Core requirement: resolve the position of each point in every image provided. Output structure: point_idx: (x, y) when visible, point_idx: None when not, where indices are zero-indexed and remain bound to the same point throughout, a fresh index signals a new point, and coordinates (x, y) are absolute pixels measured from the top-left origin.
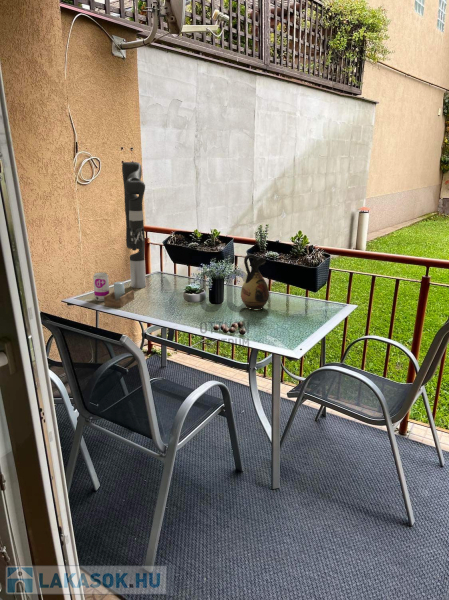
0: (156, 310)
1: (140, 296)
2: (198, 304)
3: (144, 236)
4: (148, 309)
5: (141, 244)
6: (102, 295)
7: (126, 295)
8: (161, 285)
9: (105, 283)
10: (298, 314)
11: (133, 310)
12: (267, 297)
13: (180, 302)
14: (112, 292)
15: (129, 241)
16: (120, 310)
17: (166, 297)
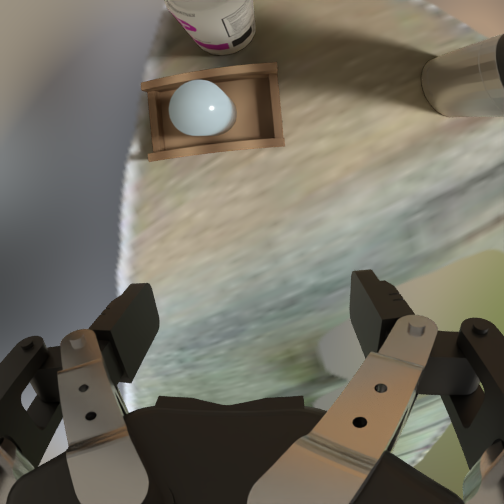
0: (189, 294)
1: (326, 153)
2: (300, 378)
3: (472, 407)
4: (185, 265)
5: (361, 328)
6: (194, 40)
7: (204, 153)
8: (482, 174)
9: (195, 31)
10: None
11: (152, 221)
12: None
13: (303, 329)
14: (209, 73)
15: (14, 348)
16: (132, 178)
17: (347, 261)
